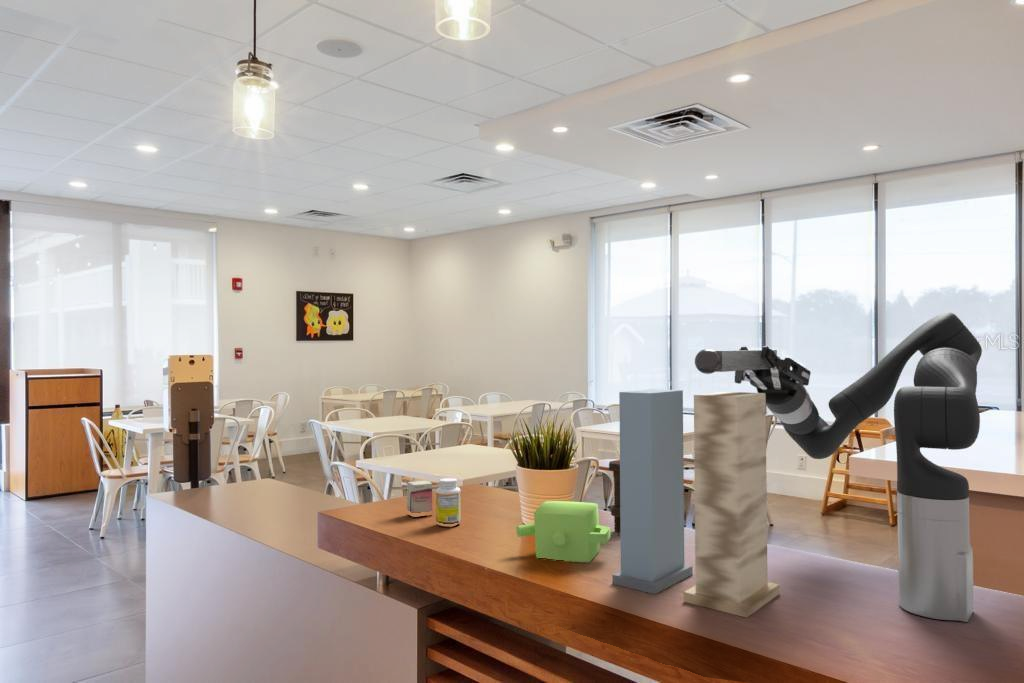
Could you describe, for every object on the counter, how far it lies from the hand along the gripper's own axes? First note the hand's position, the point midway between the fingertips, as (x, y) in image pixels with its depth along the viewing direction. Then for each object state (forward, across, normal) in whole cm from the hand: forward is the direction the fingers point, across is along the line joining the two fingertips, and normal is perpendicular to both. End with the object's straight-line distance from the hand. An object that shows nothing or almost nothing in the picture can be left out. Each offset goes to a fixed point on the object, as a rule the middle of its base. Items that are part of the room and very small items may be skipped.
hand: (752, 351), depth 118 cm
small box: (-14, +79, -37) cm, 89 cm away
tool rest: (-10, -1, -39) cm, 40 cm away
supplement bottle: (-12, +67, -38) cm, 78 cm away
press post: (-10, +13, -39) cm, 42 cm away
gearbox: (-11, +33, -39) cm, 52 cm away
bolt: (-30, +34, -28) cm, 54 cm away
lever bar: (+4, 0, -6) cm, 7 cm away
